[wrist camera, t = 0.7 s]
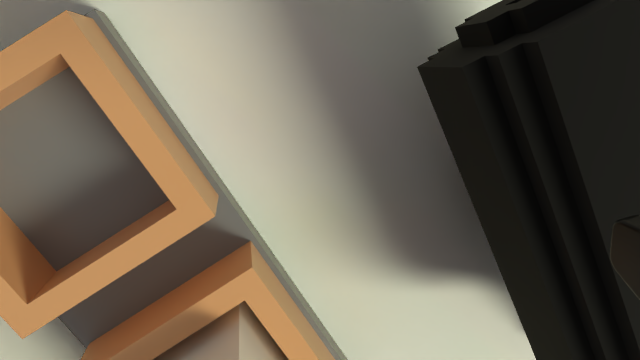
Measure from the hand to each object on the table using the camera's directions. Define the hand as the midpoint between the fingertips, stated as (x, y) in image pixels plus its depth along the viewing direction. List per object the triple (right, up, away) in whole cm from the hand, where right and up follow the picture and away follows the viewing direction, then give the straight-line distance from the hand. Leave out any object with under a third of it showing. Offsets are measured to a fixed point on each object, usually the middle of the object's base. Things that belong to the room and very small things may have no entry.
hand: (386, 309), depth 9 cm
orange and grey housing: (-8, -2, +14) cm, 17 cm away
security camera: (+8, +2, +17) cm, 19 cm away
